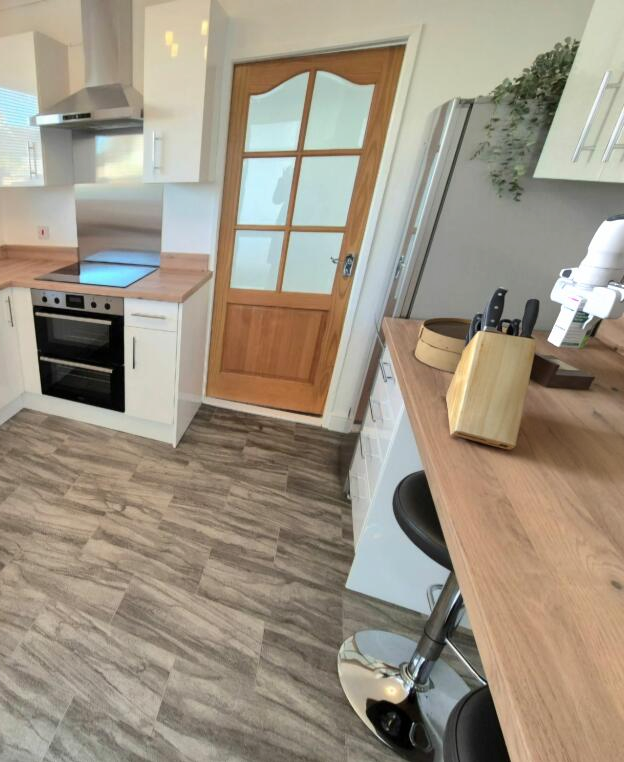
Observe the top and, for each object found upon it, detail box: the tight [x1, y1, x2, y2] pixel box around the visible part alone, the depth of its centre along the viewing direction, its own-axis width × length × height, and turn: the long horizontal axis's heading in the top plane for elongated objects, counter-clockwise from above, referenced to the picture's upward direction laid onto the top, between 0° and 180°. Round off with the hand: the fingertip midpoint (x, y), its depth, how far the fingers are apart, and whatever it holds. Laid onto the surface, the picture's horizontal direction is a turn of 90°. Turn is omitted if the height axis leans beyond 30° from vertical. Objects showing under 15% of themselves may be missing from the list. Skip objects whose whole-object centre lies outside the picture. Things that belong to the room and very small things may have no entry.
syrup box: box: [547, 294, 596, 350], centre depth 123 cm, size 6×6×14 cm
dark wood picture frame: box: [529, 351, 596, 390], centre depth 129 cm, size 11×16×7 cm
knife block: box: [445, 286, 541, 450], centre depth 103 cm, size 11×35×31 cm, turn 147°
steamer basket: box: [414, 317, 520, 374], centre depth 139 cm, size 25×25×11 cm
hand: (573, 324), depth 123 cm, fingers closed on syrup box, 6 cm apart
